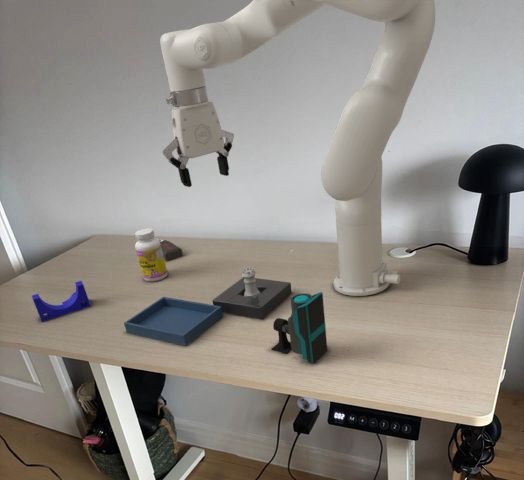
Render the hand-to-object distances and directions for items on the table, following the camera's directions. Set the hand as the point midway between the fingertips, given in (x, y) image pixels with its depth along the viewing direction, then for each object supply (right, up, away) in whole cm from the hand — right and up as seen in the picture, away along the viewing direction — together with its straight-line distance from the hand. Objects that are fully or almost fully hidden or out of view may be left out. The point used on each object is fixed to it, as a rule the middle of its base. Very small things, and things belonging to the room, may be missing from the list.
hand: (206, 180), depth 119 cm
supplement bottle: (-16, -19, +22) cm, 33 cm away
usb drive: (-16, -10, +37) cm, 41 cm away
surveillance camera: (+20, -39, -20) cm, 48 cm away
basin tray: (-7, -33, -4) cm, 34 cm away
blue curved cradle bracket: (-36, -29, +11) cm, 48 cm away
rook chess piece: (+11, -28, 0) cm, 30 cm away
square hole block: (+11, -28, 0) cm, 30 cm away
